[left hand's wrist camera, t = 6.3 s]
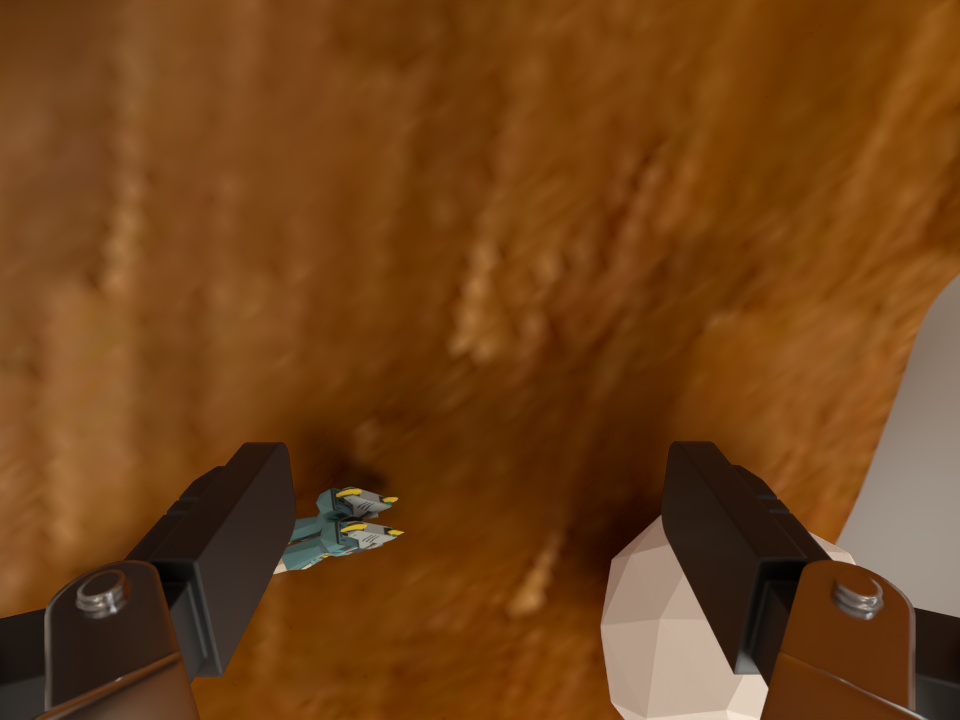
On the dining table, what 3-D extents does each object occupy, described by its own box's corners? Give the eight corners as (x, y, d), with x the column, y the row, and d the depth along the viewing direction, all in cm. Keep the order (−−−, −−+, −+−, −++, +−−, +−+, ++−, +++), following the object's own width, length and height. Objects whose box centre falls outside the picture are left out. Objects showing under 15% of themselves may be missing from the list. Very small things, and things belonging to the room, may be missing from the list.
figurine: (365, 556, 36) (30, 664, 42) (417, 559, 43) (125, 651, 49) (350, 456, 39) (40, 570, 45) (401, 474, 46) (128, 570, 52)
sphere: (675, 546, 56) (700, 792, 45) (547, 490, 45) (539, 795, 34) (891, 519, 43) (997, 849, 33) (786, 432, 32) (891, 883, 22)
